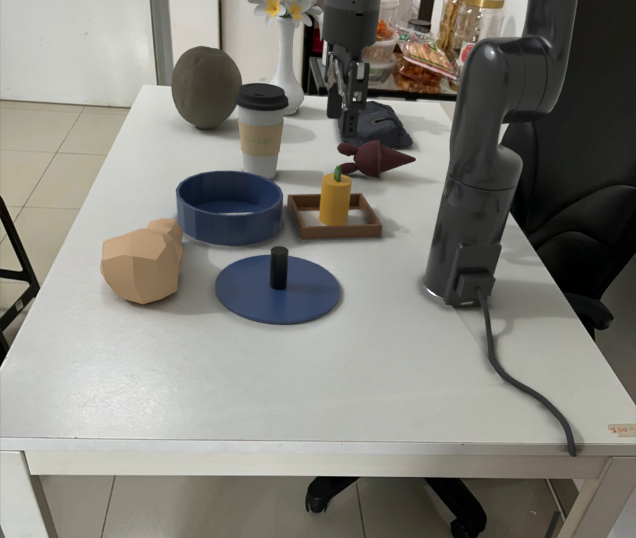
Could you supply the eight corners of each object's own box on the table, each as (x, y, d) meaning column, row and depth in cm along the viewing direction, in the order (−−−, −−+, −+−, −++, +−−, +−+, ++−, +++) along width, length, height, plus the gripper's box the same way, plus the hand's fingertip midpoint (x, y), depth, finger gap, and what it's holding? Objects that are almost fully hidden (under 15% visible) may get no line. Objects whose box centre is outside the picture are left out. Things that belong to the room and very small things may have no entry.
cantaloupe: (222, 142, 130) (220, 62, 121) (161, 128, 134) (154, 49, 124) (252, 122, 141) (253, 46, 131) (194, 110, 144) (191, 35, 134)
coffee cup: (244, 188, 115) (244, 100, 105) (227, 167, 121) (226, 82, 112) (292, 183, 119) (297, 97, 109) (274, 163, 125) (277, 80, 115)
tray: (380, 239, 105) (382, 225, 103) (301, 242, 102) (302, 228, 100) (360, 206, 114) (361, 192, 112) (286, 208, 111) (287, 194, 109)
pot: (290, 246, 101) (291, 214, 97) (182, 251, 97) (180, 217, 93) (271, 200, 112) (272, 169, 109) (174, 202, 109) (172, 171, 105)
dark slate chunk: (398, 116, 152) (402, 95, 149) (414, 151, 135) (418, 128, 132) (334, 112, 150) (336, 90, 147) (342, 147, 134) (344, 123, 131)
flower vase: (323, 124, 143) (334, -6, 127) (241, 115, 144) (242, -16, 127) (327, 106, 153) (338, -17, 137) (251, 97, 153) (252, -27, 137)
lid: (353, 323, 86) (359, 281, 82) (223, 332, 82) (222, 288, 78) (323, 258, 99) (327, 218, 94) (209, 263, 95) (207, 222, 90)
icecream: (415, 137, 124) (337, 137, 124) (419, 141, 117) (337, 141, 117) (412, 175, 127) (336, 175, 127) (416, 181, 120) (336, 180, 120)
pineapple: (350, 226, 106) (357, 171, 100) (322, 227, 105) (327, 171, 99) (343, 213, 110) (349, 159, 104) (315, 213, 109) (320, 159, 103)
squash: (97, 316, 83) (76, 250, 78) (135, 258, 100) (119, 200, 95) (179, 309, 83) (163, 242, 77) (203, 252, 99) (191, 193, 94)
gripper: (313, -9, 90) (305, 112, 101) (339, 12, 80) (328, 144, 90) (364, -7, 92) (351, 112, 102) (395, 14, 81) (378, 144, 92)
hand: (340, 127), depth 96 cm, fingers open, 8 cm apart
